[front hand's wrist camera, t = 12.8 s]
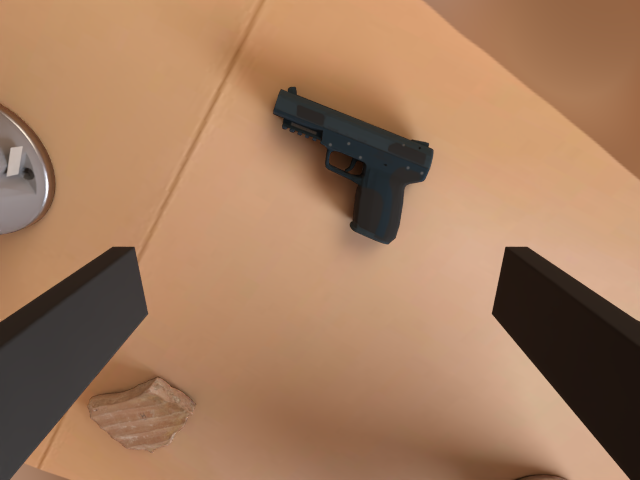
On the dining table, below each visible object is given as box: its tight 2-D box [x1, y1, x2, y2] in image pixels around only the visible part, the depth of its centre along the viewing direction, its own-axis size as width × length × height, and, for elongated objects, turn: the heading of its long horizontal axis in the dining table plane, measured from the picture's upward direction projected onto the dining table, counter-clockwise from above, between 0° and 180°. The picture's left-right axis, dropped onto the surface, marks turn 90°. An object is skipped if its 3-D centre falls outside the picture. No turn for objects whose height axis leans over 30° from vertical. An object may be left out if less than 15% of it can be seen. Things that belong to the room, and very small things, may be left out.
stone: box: [87, 378, 196, 453], centre depth 51 cm, size 13×12×3 cm
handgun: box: [273, 87, 433, 244], centre depth 38 cm, size 3×18×12 cm
